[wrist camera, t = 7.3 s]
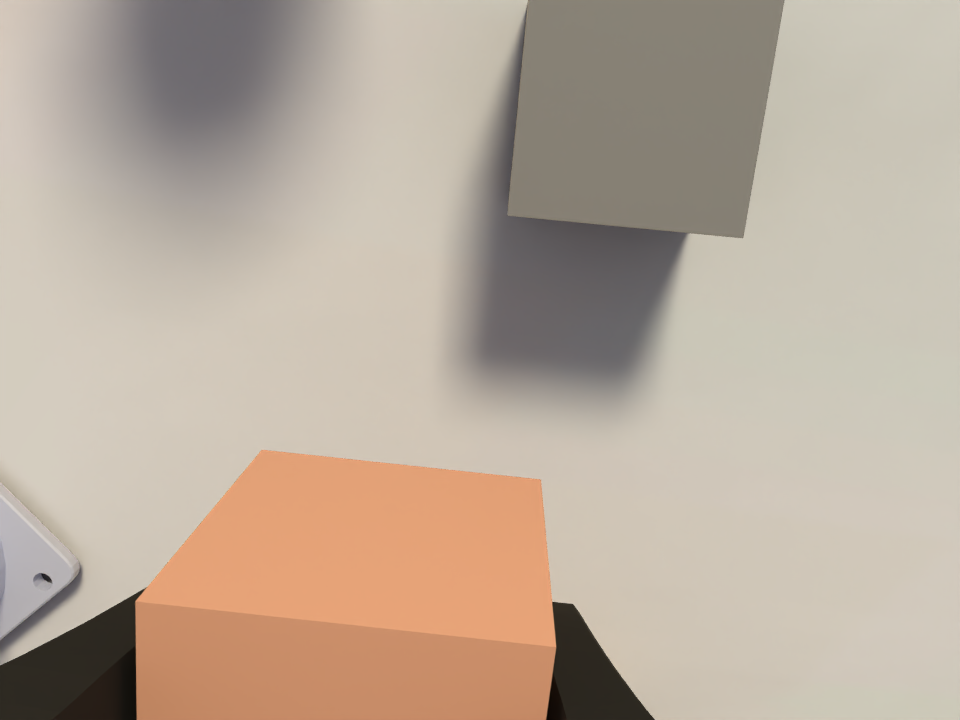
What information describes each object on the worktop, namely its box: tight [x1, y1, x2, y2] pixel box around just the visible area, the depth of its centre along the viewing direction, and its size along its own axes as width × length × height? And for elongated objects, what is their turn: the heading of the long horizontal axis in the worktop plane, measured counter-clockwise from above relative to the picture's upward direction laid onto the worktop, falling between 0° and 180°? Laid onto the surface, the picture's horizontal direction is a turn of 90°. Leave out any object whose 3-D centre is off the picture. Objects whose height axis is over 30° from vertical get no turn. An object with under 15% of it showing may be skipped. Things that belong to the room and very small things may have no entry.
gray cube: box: [508, 0, 784, 238], centre depth 17 cm, size 4×4×4 cm
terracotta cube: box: [135, 450, 556, 720], centre depth 11 cm, size 4×4×4 cm
